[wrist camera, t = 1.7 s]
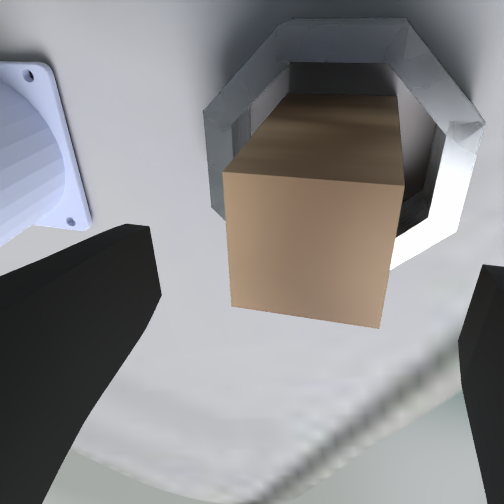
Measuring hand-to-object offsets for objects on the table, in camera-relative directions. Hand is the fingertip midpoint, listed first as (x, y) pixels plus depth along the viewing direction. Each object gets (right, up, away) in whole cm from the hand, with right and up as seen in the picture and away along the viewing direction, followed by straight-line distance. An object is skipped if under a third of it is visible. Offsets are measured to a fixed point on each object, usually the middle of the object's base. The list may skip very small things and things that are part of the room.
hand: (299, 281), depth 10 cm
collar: (+2, +5, +7) cm, 9 cm away
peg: (+2, +5, +7) cm, 9 cm away
